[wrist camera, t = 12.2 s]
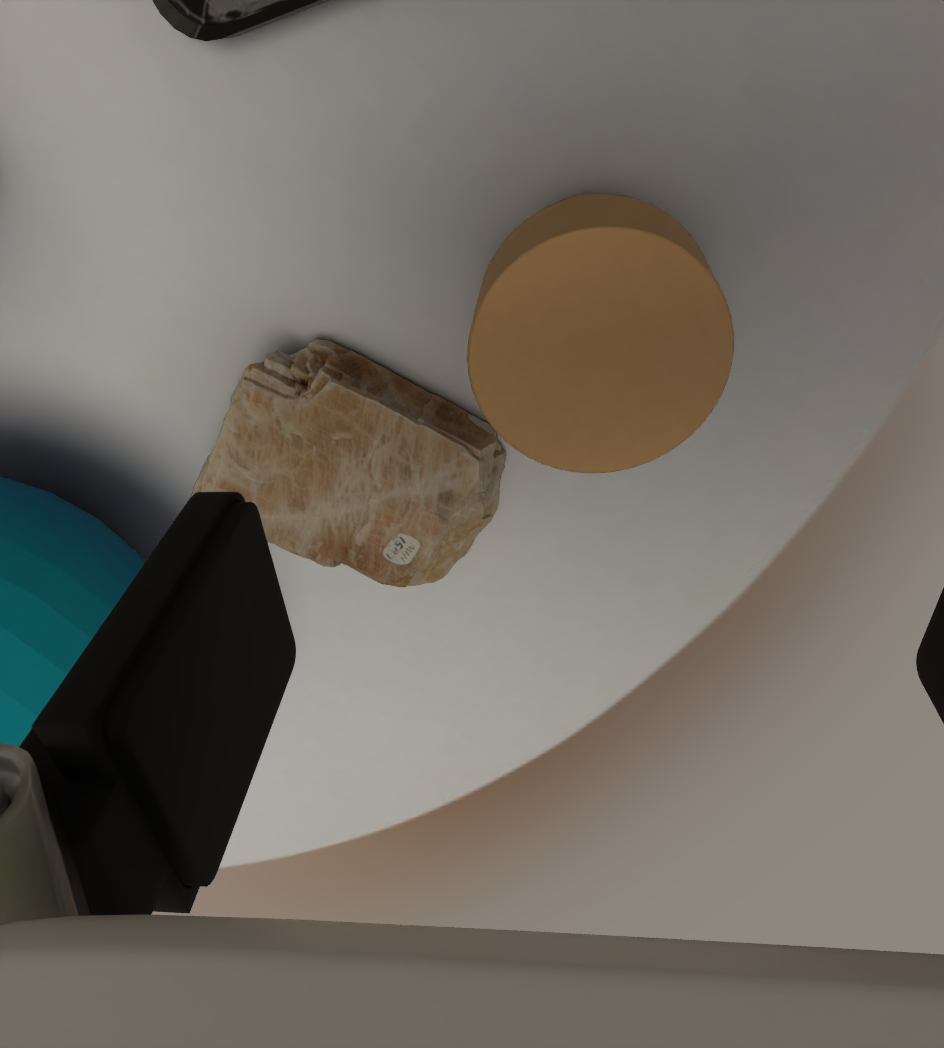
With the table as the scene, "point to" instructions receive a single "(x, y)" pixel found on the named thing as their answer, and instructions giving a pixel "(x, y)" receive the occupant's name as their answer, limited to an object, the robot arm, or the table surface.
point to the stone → (356, 465)
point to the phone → (226, 15)
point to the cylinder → (599, 335)
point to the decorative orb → (50, 596)
